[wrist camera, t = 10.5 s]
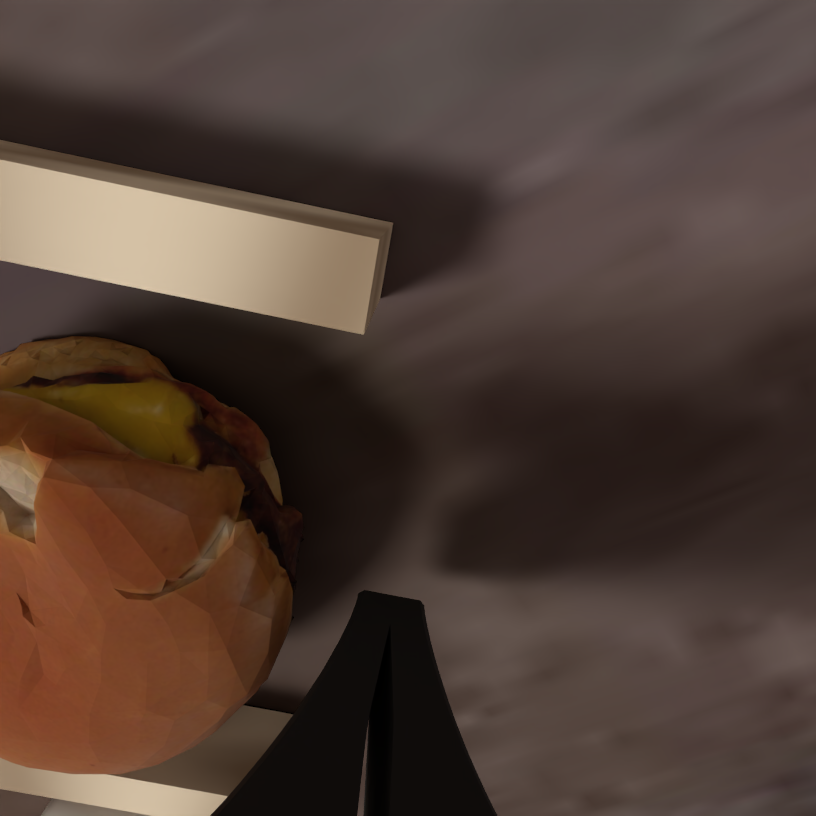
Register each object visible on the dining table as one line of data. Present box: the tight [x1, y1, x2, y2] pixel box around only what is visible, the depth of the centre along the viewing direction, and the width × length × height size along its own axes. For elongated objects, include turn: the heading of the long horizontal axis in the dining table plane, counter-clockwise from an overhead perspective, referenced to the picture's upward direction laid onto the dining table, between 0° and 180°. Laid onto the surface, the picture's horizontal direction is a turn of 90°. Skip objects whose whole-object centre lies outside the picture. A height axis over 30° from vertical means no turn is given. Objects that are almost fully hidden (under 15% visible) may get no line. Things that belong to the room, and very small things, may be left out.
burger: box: [0, 336, 304, 774], centre depth 12 cm, size 10×9×5 cm
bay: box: [0, 140, 393, 816], centre depth 12 cm, size 14×16×3 cm
